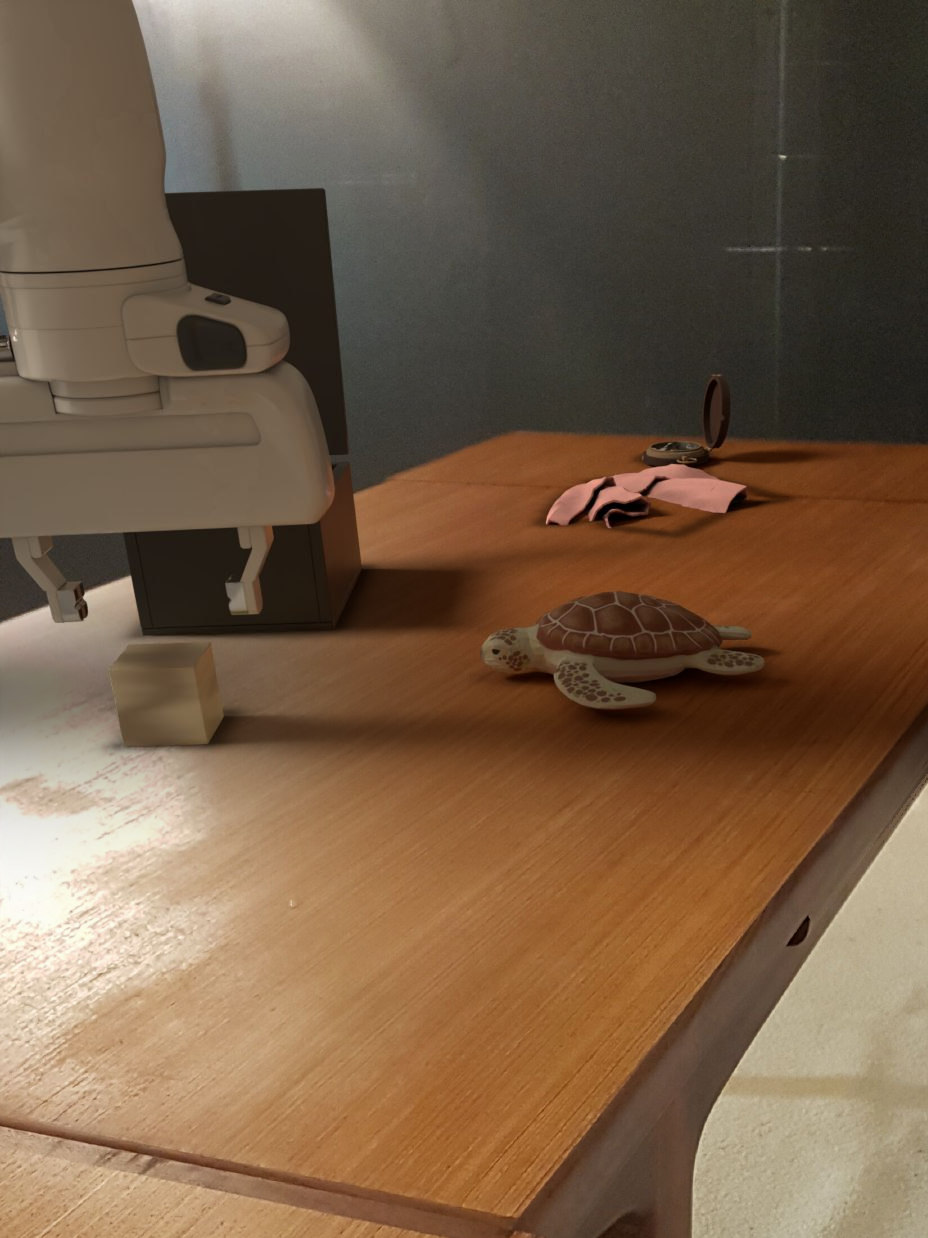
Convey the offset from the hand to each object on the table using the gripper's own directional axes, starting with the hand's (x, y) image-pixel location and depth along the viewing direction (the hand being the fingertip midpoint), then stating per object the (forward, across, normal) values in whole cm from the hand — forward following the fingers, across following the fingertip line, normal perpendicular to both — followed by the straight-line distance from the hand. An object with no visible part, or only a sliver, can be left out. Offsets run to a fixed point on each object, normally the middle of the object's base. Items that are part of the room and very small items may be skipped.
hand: (159, 615), depth 87 cm
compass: (+7, +32, +71) cm, 78 cm away
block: (+7, 0, 0) cm, 7 cm away
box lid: (-10, 0, +36) cm, 37 cm away
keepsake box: (+7, 0, +27) cm, 28 cm away
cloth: (+7, +28, +53) cm, 60 cm away
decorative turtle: (+7, +25, +8) cm, 27 cm away
